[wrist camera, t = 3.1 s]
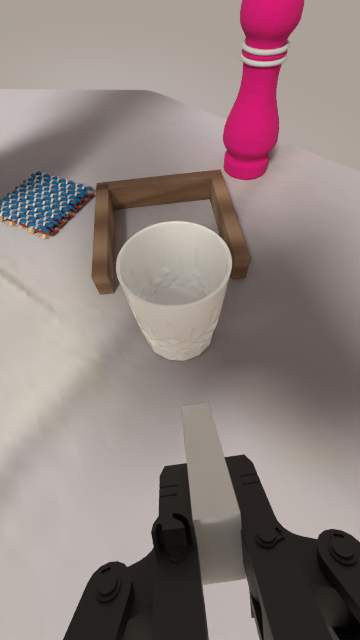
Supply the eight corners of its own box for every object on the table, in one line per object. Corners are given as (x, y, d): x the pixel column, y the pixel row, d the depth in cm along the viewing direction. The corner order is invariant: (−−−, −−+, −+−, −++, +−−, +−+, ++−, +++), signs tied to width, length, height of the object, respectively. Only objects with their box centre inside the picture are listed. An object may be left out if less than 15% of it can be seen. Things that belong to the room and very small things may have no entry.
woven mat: (42, 179, 42) (36, 166, 40) (99, 197, 39) (94, 184, 38) (-9, 222, 38) (-19, 209, 36) (51, 245, 35) (43, 233, 33)
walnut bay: (245, 277, 30) (250, 258, 28) (100, 294, 30) (91, 276, 27) (218, 190, 38) (220, 169, 36) (103, 203, 38) (96, 183, 35)
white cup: (156, 290, 30) (141, 212, 21) (227, 307, 28) (242, 231, 20) (127, 354, 26) (95, 291, 18) (207, 378, 25) (215, 322, 16)
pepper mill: (237, 148, 43) (267, -71, 26) (278, 163, 41) (341, -68, 24) (210, 170, 41) (224, -58, 23) (253, 188, 38) (303, -53, 21)
